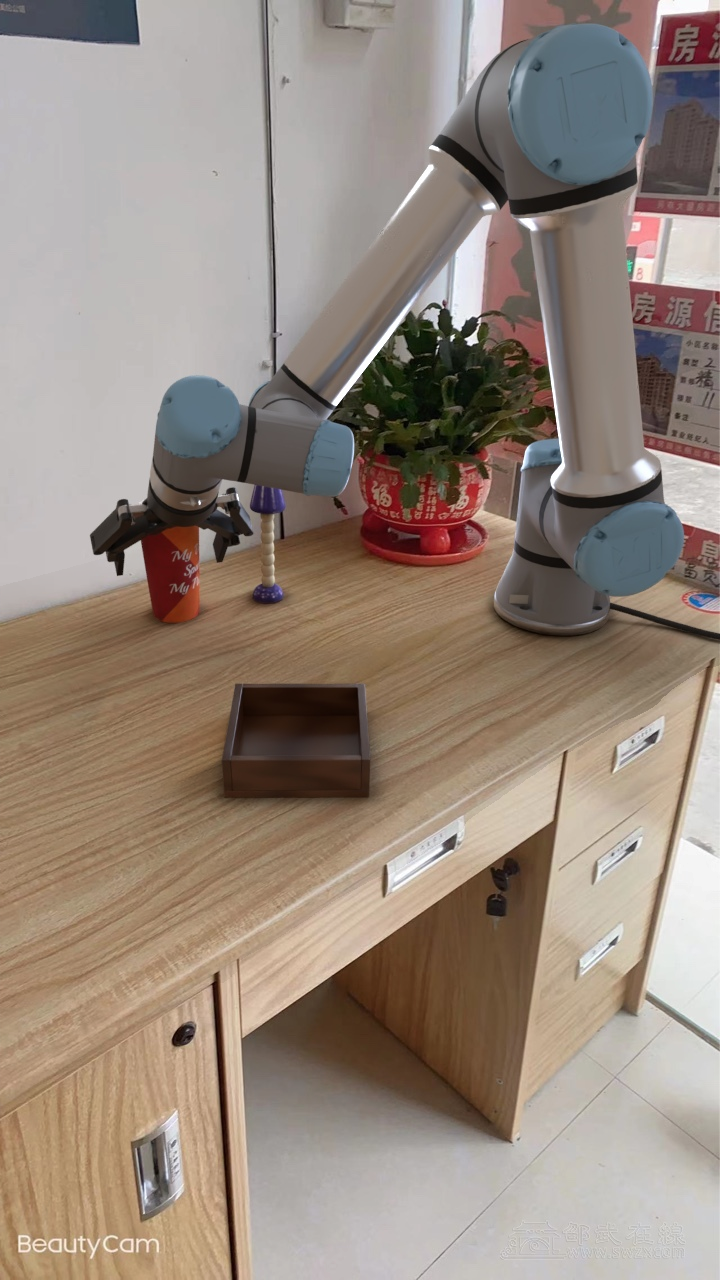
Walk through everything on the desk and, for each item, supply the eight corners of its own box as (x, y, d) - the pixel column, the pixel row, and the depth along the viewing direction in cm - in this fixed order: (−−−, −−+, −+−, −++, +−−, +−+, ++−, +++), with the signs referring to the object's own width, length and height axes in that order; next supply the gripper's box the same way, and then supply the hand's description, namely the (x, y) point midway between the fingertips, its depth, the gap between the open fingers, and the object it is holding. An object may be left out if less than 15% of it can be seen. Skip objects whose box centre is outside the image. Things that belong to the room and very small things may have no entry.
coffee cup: (194, 630, 112) (186, 518, 105) (134, 622, 113) (121, 512, 106) (217, 602, 119) (210, 495, 112) (160, 595, 121) (149, 490, 114)
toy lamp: (257, 587, 123) (253, 472, 116) (290, 590, 123) (288, 474, 115) (249, 602, 119) (244, 483, 111) (283, 605, 119) (280, 486, 111)
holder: (363, 717, 95) (364, 683, 93) (369, 797, 83) (370, 759, 81) (237, 717, 94) (235, 683, 92) (224, 797, 83) (221, 760, 80)
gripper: (73, 526, 90) (76, 599, 110) (300, 501, 99) (265, 573, 118) (61, 461, 92) (66, 544, 112) (285, 442, 101) (253, 522, 120)
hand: (168, 559), depth 115 cm, fingers open, 12 cm apart
